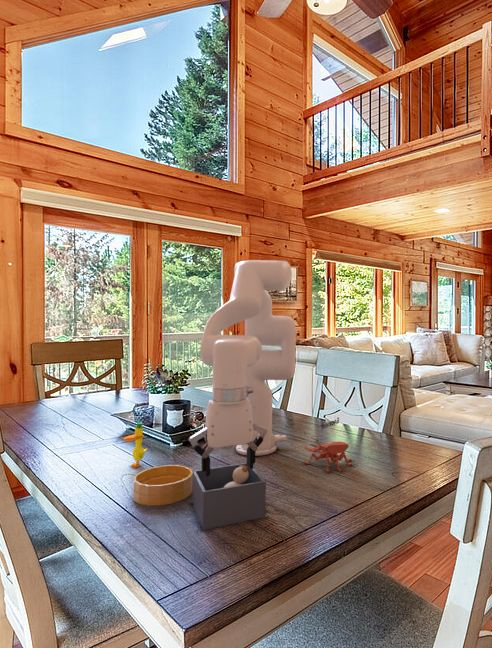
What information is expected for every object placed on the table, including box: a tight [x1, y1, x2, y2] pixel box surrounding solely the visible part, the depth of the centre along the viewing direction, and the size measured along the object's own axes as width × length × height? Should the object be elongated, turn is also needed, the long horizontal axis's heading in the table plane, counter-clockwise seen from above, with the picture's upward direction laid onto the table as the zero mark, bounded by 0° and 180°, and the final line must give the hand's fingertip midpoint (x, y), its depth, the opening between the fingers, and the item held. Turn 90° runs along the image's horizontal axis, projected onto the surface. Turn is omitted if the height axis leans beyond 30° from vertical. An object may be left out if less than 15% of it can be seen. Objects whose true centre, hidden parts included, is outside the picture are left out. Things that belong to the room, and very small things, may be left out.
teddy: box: [223, 465, 249, 488], centre depth 101 cm, size 5×5×9 cm
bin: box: [191, 462, 267, 531], centre depth 100 cm, size 13×13×8 cm
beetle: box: [303, 417, 354, 473], centre depth 131 cm, size 15×12×13 cm
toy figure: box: [122, 422, 148, 469], centre depth 126 cm, size 7×4×12 cm, turn 138°
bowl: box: [132, 464, 194, 507], centre depth 107 cm, size 13×13×5 cm
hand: (228, 470), depth 100 cm, fingers open, 9 cm apart
